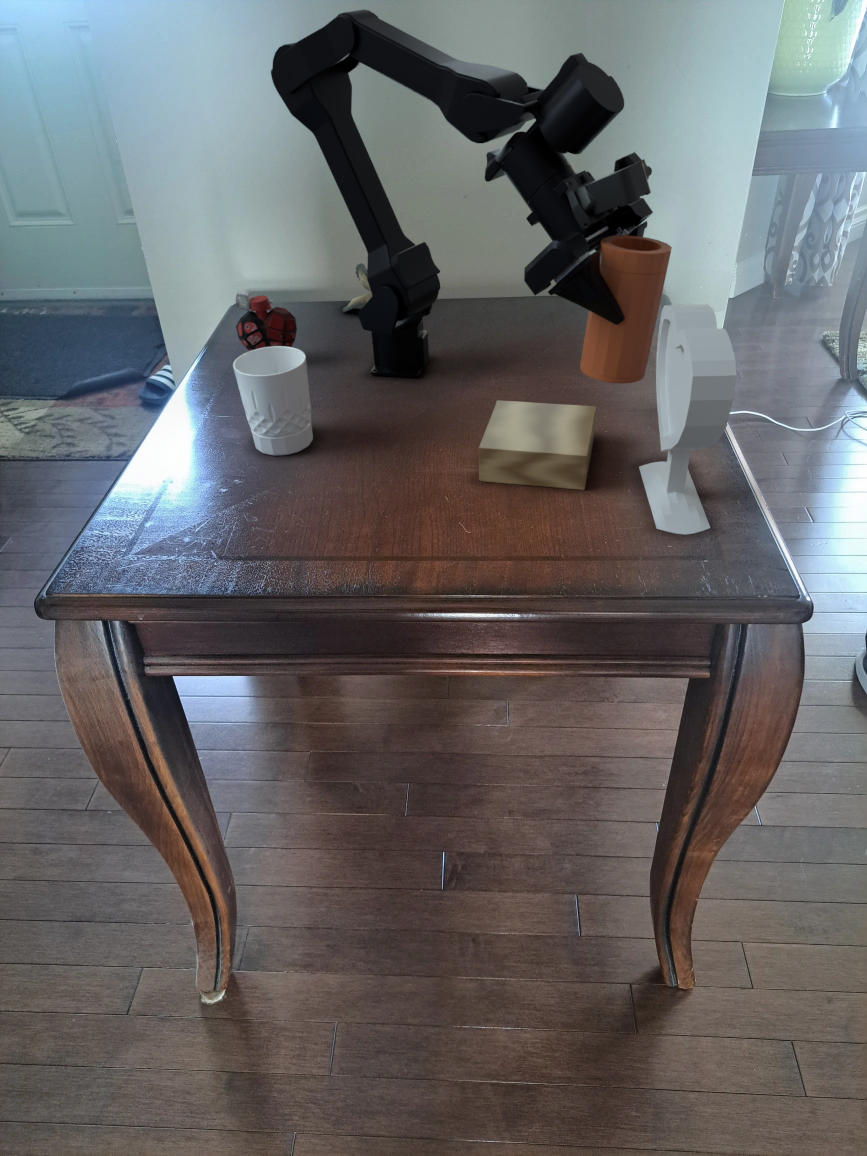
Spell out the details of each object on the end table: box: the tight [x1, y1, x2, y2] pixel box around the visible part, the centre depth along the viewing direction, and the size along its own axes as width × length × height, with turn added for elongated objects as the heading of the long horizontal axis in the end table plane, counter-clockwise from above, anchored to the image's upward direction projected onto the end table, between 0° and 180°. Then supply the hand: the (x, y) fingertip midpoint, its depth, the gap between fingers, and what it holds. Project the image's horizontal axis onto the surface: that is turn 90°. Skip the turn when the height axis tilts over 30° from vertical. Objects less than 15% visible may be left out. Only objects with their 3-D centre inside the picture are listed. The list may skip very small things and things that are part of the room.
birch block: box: [478, 399, 597, 491], centre depth 89 cm, size 11×11×4 cm
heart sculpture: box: [638, 303, 737, 536], centre depth 78 cm, size 16×5×18 cm, turn 177°
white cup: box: [232, 346, 314, 456], centre depth 93 cm, size 8×8×10 cm
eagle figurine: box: [342, 262, 372, 312], centre depth 127 cm, size 8×7×9 cm
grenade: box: [235, 289, 298, 352], centre depth 111 cm, size 5×8×10 cm, turn 99°
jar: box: [580, 235, 673, 384], centre depth 88 cm, size 7×7×14 cm
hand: (636, 310), depth 87 cm, fingers closed on jar, 7 cm apart
